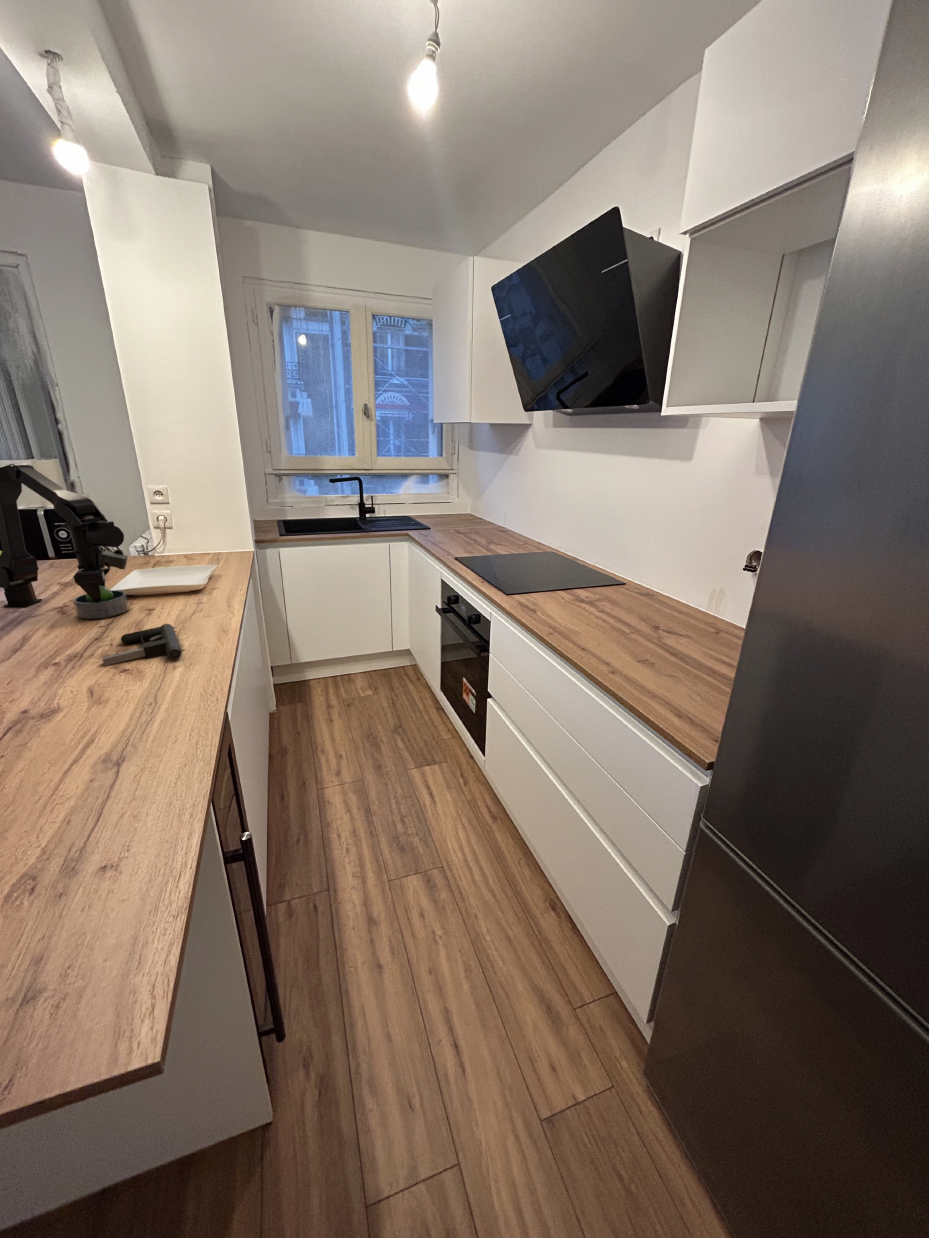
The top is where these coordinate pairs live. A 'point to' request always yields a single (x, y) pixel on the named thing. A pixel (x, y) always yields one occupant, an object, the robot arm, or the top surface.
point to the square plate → (165, 580)
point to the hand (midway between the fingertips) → (100, 598)
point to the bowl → (101, 606)
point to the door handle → (148, 645)
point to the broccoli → (102, 595)
